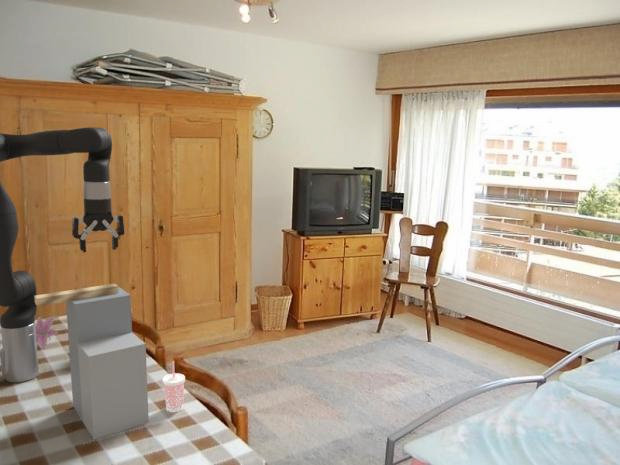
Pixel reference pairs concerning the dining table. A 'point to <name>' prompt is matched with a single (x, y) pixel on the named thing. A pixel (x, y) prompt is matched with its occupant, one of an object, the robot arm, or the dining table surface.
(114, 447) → the dining table surface
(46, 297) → the maple bar
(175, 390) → the beverage cup
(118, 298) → the stepped stand
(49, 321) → the lily
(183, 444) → the dining table surface
